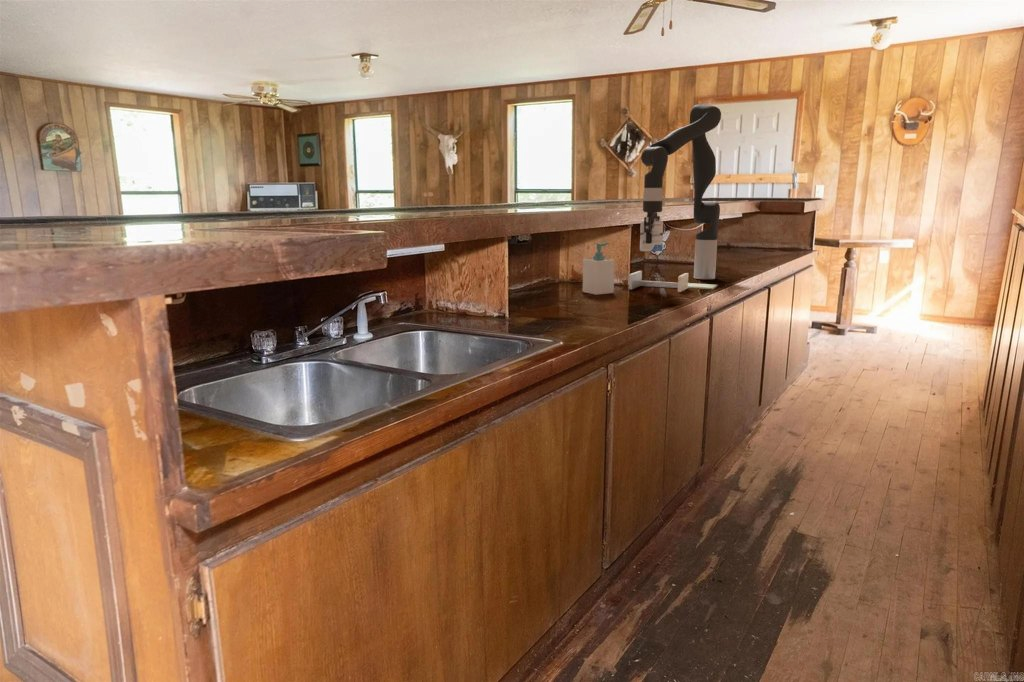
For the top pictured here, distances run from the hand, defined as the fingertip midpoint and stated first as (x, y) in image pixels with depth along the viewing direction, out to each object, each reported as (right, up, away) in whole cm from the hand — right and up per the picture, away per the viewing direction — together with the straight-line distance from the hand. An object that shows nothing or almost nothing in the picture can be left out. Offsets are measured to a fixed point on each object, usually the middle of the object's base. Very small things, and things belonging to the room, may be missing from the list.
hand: (651, 242), depth 272 cm
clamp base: (+3, -18, +3) cm, 18 cm away
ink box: (0, -3, +1) cm, 3 cm away
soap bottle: (-22, -20, -7) cm, 31 cm away
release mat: (+21, -17, +7) cm, 28 cm away
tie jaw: (+12, -19, -3) cm, 23 cm away
